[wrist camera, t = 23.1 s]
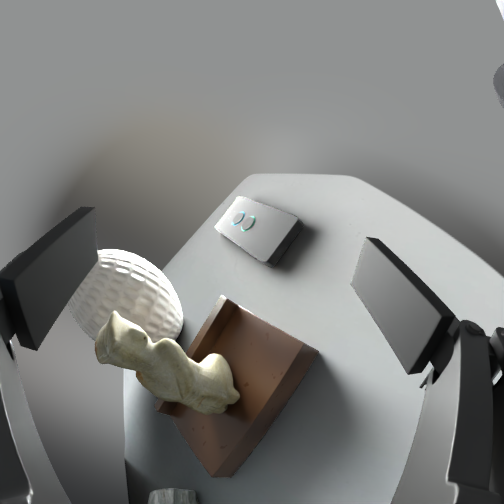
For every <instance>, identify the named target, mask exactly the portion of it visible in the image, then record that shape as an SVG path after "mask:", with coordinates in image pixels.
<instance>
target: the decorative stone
mask: <svg viewBox="0 0 504 504" xmlns="http://www.w3.org/2000/svg"><path fill="white" fill-rule="evenodd" d="M148 504H199V503H198V499H197V495H196V492H195V491H192V490H184V489H173V488H165V489H161V490H155V491H153V492H151V493H150V496H149V500H148Z"/></svg>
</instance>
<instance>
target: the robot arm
mask: <svg viewBox="0 0 504 504" xmlns="http://www.w3.org/2000/svg"><path fill="white" fill-rule="evenodd" d="M496 2H497V5H498V7H499V9H500V12H501V14H502V17H503V19H504V0H496ZM97 261H98V250H97V237H96V218H95V207H80V208H79V209H78V210H76V211H75V212H73V213H72V214H71V215H69V216H68V217H67V218H65V219H64V220H63V221H61V222H60V223H59V224H58V225H56V226H55V227H54V228H53V229H51V230H50V231H49V232H47V233H46V234H45V235H44V236H43V237H41V238H40V239H39V240H38V241H37V242H35V243H34V244H33V245H32V246H31V247H29V248H28V249H27V250H26V251H24V252H22V253H20V254H18V255H17V256H16V257H15V258H14V259H13V260H12V262H9V263H8V264H7V266H6V267H4V268H3V269H2V270H1V271H0V504H71V502H70V501H69V499H68V497H67V495H66V493H65V492H64V490H63V488H62V486H61V484H60V482H59V480H58V478H57V476H56V474H55V472H54V470H53V468H52V466H51V463H50V462H49V459H48V457H47V455H46V452H45V450H44V447H43V445H42V443H41V440H40V438H39V435H38V432H37V430H36V427H35V424H34V421H33V418H32V415H31V412H30V409H29V406H28V403H27V400H26V396H25V393H24V390H23V386H22V382H21V378H20V374H19V370H18V365H17V361H16V356H15V351H14V347H13V344H12V342H11V339H12V337H13V336H14V334H15V333H16V335H17V338H18V340H19V343H20V345H21V346H23V347H26V348H29V349H32V350H36V351H37V350H38V348H39V347H40V345H41V343H42V341H43V340H44V338H45V337H46V335H47V333H48V332H49V330H50V329H51V327H52V326H53V324H54V322H55V321H56V319H57V318H58V316H59V315H60V313H61V312H62V310H63V309H64V307H65V306H66V304H67V303H68V301H69V300H70V299H71V297H72V296H73V294H74V293H75V291H76V290H77V289H78V287H79V286H80V284H81V283H82V282H83V280H84V279H85V277H86V276H87V275H88V273H89V272H90V271H91V269H92V268H93V267H94V265H95V264H96V263H97ZM351 286H352V287H353V289H354V290H355V292H356V293H357V295H358V296H359V298H360V299H361V301H362V302H363V304H364V305H365V307H366V308H367V310H368V311H369V313H370V314H371V316H372V317H373V319H374V321H375V322H376V324H377V325H378V327H379V328H380V330H381V332H382V333H383V335H384V336H385V338H386V340H387V341H388V343H389V344H390V346H391V348H392V349H393V351H394V353H395V354H396V356H397V358H398V359H399V361H400V363H401V364H402V366H403V368H404V369H405V371H406V373H407V374H408V375H410V374H416V373H422V371H423V370H424V368H425V367H426V365H427V364H428V362H429V361H430V362H431V363H432V365H433V368H432V369H431V371H430V372H429V374H428V375H427V377H426V378H425V380H424V381H423V382H422V384H421V386H420V388H422V387H423V386H424V385H426V384H427V386H426V389H425V390H426V392H425V396H424V401H423V405H422V410H421V414H420V418H419V422H418V426H417V429H416V433H415V437H414V440H413V443H412V447H411V450H410V453H409V456H408V459H407V462H406V465H405V468H404V471H403V474H402V476H401V479H400V482H399V484H398V487H397V489H396V492H395V494H394V497H393V499H392V501H391V504H504V328H501V327H498V328H496V330H495V332H494V333H493V335H492V337H489V336H486V335H485V332H484V330H483V329H482V328H481V327H479V326H478V325H477V324H476V323H474V322H471V321H468V320H462V321H461V322H460V321H459V320H458V319H457V318H456V317H455V315H454V313H453V312H452V311H451V310H450V309H449V308H448V307H447V306H446V305H445V304H444V303H443V302H442V301H441V299H440V298H439V297H438V296H437V295H436V294H435V293H434V292H433V291H432V290H431V289H430V288H429V287H428V286H427V285H426V284H425V283H424V282H423V281H422V280H421V279H420V278H419V277H418V276H417V275H416V274H415V273H414V272H413V271H412V270H411V269H410V268H409V267H408V266H407V265H406V264H405V263H404V262H403V261H402V260H401V259H399V258H398V257H397V256H396V255H395V254H394V253H393V252H392V251H391V250H390V249H389V248H388V247H387V246H386V245H384V244H383V243H382V242H381V241H380V240H379V239H376V238H370V237H366V238H365V241H364V244H363V248H362V251H361V254H360V257H359V260H358V264H357V267H356V270H355V273H354V276H353V279H352V281H351ZM500 370H502V376H501V378H500V379H499V380H498V382H497V383H496V384H495V385H493V382H492V381H493V379H494V378H495V377H496V375H497V374H498V373H499V371H500Z"/></svg>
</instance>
